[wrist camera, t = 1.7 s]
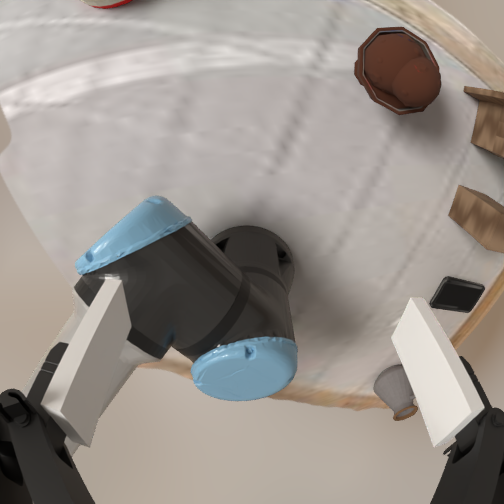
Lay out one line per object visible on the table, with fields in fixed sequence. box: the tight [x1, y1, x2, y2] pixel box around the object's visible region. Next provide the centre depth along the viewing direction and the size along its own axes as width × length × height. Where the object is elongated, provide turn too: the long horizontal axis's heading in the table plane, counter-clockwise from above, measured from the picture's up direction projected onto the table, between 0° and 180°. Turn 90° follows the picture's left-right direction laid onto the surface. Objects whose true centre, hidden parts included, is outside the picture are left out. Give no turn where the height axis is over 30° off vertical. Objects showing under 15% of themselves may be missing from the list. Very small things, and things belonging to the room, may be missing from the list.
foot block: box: [448, 185, 504, 253], centre depth 39 cm, size 6×8×12 cm
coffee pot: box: [374, 365, 418, 421], centre depth 59 cm, size 21×12×15 cm, turn 151°
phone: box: [429, 276, 485, 313], centre depth 55 cm, size 8×1×15 cm
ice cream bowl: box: [354, 27, 441, 115], centre depth 28 cm, size 11×11×15 cm
